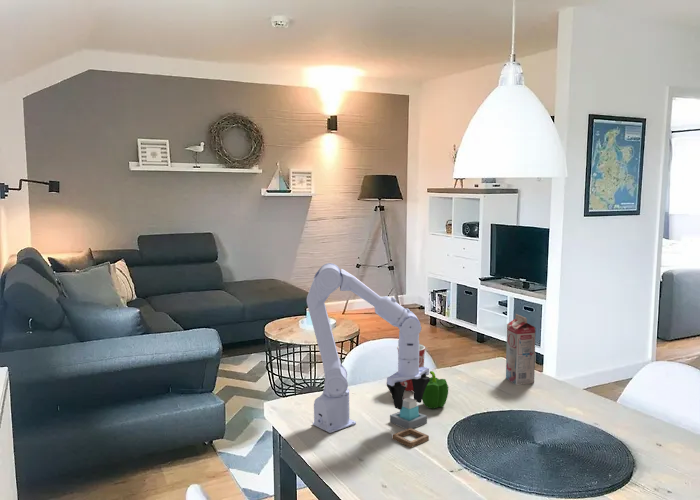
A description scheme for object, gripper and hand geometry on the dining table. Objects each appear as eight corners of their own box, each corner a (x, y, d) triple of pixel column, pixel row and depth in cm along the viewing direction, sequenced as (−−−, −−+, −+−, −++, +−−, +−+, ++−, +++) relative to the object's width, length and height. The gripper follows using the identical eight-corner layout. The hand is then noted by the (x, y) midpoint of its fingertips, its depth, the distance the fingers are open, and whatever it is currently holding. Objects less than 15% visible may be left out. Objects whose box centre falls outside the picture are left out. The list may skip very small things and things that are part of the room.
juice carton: (516, 384, 193) (517, 318, 190) (505, 378, 199) (507, 314, 197) (534, 383, 194) (535, 317, 192) (523, 376, 201) (525, 313, 198)
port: (408, 430, 158) (408, 421, 158) (390, 422, 164) (390, 414, 164) (427, 422, 163) (427, 414, 163) (408, 415, 168) (408, 407, 168)
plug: (409, 425, 161) (409, 403, 160) (400, 421, 163) (400, 399, 163) (418, 421, 163) (418, 400, 162) (409, 418, 166) (409, 396, 165)
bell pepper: (448, 412, 171) (448, 378, 169) (419, 410, 172) (419, 377, 171) (448, 401, 179) (448, 369, 178) (420, 400, 180) (421, 368, 179)
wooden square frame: (410, 447, 148) (410, 443, 148) (392, 439, 153) (392, 434, 153) (428, 440, 152) (428, 435, 152) (410, 432, 157) (410, 427, 157)
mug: (396, 383, 195) (396, 343, 194) (423, 382, 195) (423, 343, 194) (398, 396, 183) (398, 354, 181) (428, 396, 183) (428, 354, 181)
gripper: (400, 365, 154) (399, 416, 155) (437, 355, 163) (436, 402, 164) (381, 359, 159) (381, 408, 160) (418, 349, 168) (418, 395, 170)
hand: (408, 405), depth 163 cm, fingers open, 7 cm apart
